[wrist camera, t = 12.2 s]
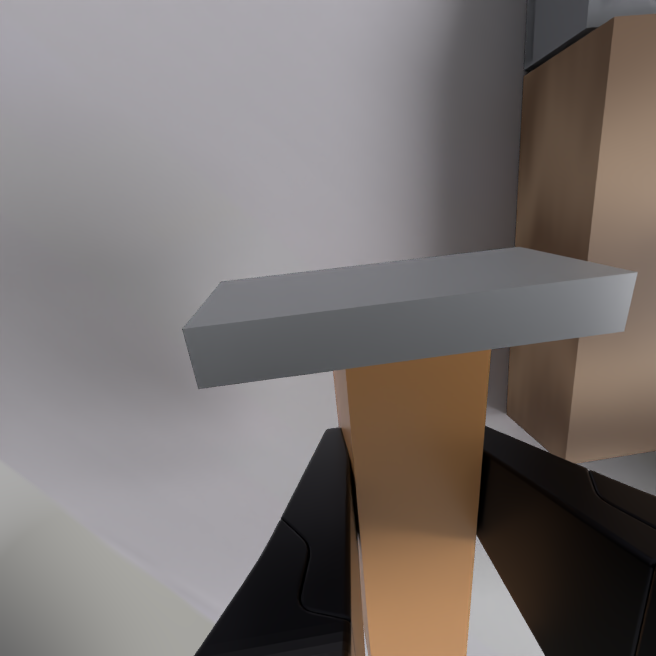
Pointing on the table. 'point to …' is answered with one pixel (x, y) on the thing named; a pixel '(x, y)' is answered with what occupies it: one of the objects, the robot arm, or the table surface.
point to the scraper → (408, 399)
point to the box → (570, 23)
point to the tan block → (592, 238)
